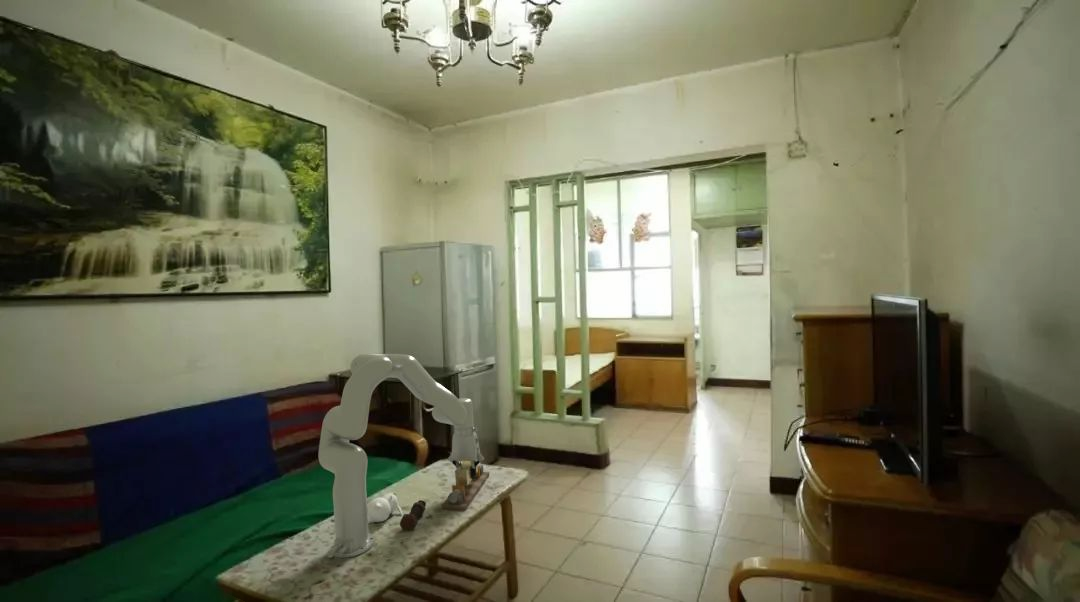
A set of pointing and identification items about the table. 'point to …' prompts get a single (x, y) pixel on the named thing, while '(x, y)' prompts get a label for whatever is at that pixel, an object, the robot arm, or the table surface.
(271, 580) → the table surface
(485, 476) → the shaft base
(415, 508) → the bolt
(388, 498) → the cat figurine
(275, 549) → the table surface
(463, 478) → the tan rectangular block
